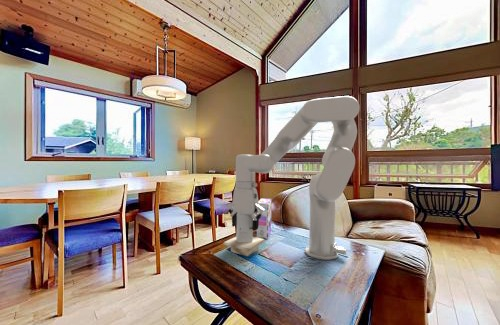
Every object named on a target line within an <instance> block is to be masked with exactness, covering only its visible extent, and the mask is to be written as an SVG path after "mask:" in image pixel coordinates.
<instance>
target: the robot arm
mask: <svg viewBox="0 0 500 325" xmlns="http://www.w3.org/2000/svg"><path fill="white" fill-rule="evenodd" d="M359 103H360V102H359V101H358V100H357V99H356V98H355V97H353V96H349V95H344V96H343V95H342V96H341V95H340V96H334V97H333V96H332V97H322V98H314V99H310V100H308V101H306V102H305V103H304V105H303V106H302V107H301V108H300V109H299V110H298V112H296V114H294V115H293V117H291V119H290V120H289V121H288V122H287V123H286V124H285V125H284V126H283V127H282V129H280V131H279V132H277V134H276V137H275V138H274V139H273V140H272V142H271V143H270V144H269V145H268V146H267V147H266V148H265V149H264V150H263V152H261V154H244V153H242V154H238V155H236V156H235V187H234V190H233V194H232V202H230V203H228V204H227V205H226V207H227V210H228V213H229V214H230V217H231V224H232V225H231V226H232V228H233V227H237V213H238V211H239V212H243V214H246V215H251V216H252V217H253V232H256V230H257V229H258V227H259V219H260V218H261V217H262V216H263V213H264V211H265V209H263V208H262V207H261V206H259V203H258V201H259V195H258V194H259V193H258V190H257V187H258V183H257V182H256V180H255V178H256V177H255V176H256V174H255V173H258V174H269V173H271V171H273V169H274V167H275V165H277V163H278V162H279V161H280V160H281V159H282V158H283V157H284V156H285V155H286V154H287V153H288V152H289V151H291V150H292V149H294V148H295V147H296V146H297V145H298V144H299V143H300V142H301V141H302V140H304V138H305V137H306V136H307V135H308V134H309V132H311V131H312V130H313V128H314V127H315V126H317V124H319V123H328V122H331V124H332V125H333V133H332V134H331V135H332V136H331V139H330V140H329V143H328V145H327V147H326V149H325V151H324V154H323V155H322V159H321V163H322V165H323V168H322V171H321V172H319V173H317V174H315V175H313V176H312V177H311V178H310V180H309V184H308V186H309V187H308V191H309V192H308V195H309V232H308V234H309V239H308V240H309V241H308V242H309V243H308V245H306V247H304V248H305V249H304V251H305V254H306V255H307V256H309V257H311V258H314V259H316V260H317V259H318V260H322V261H323V260H324V261H328V260H329V261H331V260H335V259H337V258H338V257H339V254H340V255H344V256H346V255H347V249H345V247H344V246H338V244H337V241H335V238H336V237H335V235H336V229H335V228H336V201H337V200H338V199H339V198H340V197H341V196H342V194H343V192H344V191H345V189H346V187H347V184H348V183H349V181H350V178H351V176H352V174H353V171H354V169H355V165H356V158H355V155H354V153H353V150H352V149H353V147H354V144H355V142H356V139H357V135H358V128H357V124H356V121H355V118H356V117H357V116H358V114H359V113H360V104H359ZM258 211H260V212H259V214H258Z"/></svg>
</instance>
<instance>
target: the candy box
mask: <svg viewBox="0 0 500 325" xmlns="http://www.w3.org/2000/svg"><path fill="white" fill-rule="evenodd" d="M258 203H259V206H261V207H262V208H263V209H265V211H264V213H263V216H262V217H261V218H260V219H259V227H258V229H257V230H255V237H257V238H262V239H265V240H268V239H269V237H270V234H271V232H272V198H260V199H258ZM259 212H260V211H258V214H259Z"/></svg>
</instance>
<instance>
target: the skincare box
mask: <svg viewBox="0 0 500 325" xmlns="http://www.w3.org/2000/svg"><path fill="white" fill-rule="evenodd" d="M253 220H254V219H253V217H252V216H251V215H246V214H243V212H239V211H238V213H237V225H236V232H235V233H236V234H235V236H236V239H237V241H238V243H241V242H252V241H253V237H254V234H253V233H254V231H253Z"/></svg>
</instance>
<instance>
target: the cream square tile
mask: <svg viewBox="0 0 500 325" xmlns="http://www.w3.org/2000/svg"><path fill="white" fill-rule="evenodd" d="M265 242H266V239H262V238H257V237H256V236H253V241H252V242H241V243H238V241H237V239H236V235H235V236H233V237H231V238H229V239H228V240H226V241H224V242H223V246H225V247H230V252H231V253H234V254H238V255H242V256H245V257H249V256H251V255H252V254H254V253H256V251H258V250H259V246H260V245H262V244H263V243H265Z"/></svg>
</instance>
